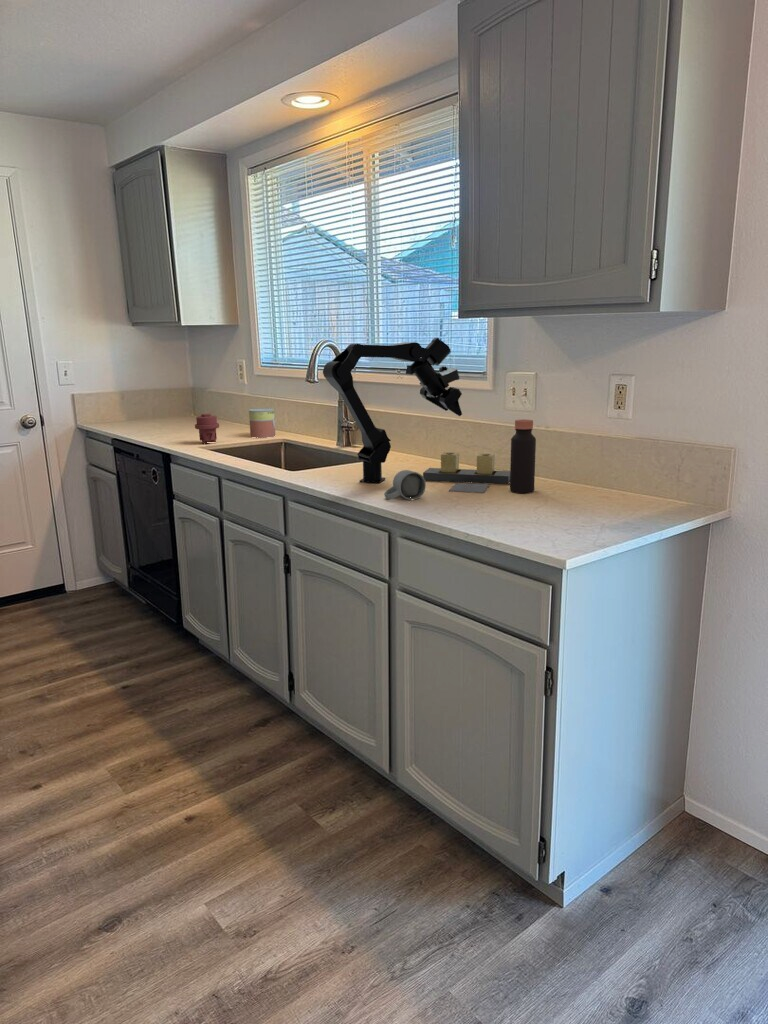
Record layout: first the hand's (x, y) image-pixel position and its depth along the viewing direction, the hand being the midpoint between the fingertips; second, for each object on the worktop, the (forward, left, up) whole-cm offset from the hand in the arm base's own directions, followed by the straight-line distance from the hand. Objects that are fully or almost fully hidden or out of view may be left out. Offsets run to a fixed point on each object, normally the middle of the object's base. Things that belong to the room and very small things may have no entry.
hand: (454, 412), depth 227 cm
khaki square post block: (-14, -2, -19) cm, 23 cm away
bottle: (-26, -25, -19) cm, 41 cm away
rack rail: (-14, -7, -19) cm, 24 cm away
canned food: (+61, +101, -19) cm, 119 cm away
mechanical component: (+38, +115, -19) cm, 122 cm away
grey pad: (-26, -10, -19) cm, 33 cm away
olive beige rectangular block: (-14, -13, -19) cm, 27 cm away
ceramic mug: (-41, +5, -19) cm, 45 cm away
